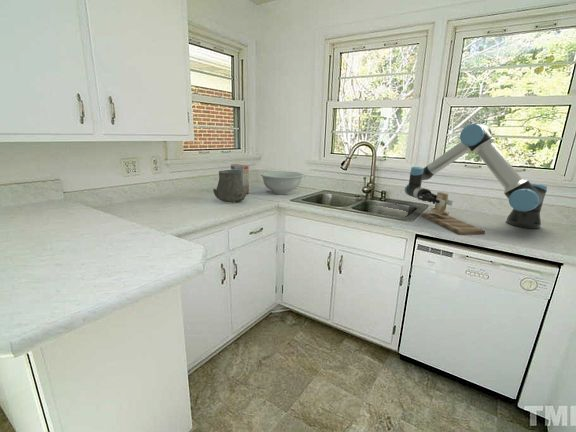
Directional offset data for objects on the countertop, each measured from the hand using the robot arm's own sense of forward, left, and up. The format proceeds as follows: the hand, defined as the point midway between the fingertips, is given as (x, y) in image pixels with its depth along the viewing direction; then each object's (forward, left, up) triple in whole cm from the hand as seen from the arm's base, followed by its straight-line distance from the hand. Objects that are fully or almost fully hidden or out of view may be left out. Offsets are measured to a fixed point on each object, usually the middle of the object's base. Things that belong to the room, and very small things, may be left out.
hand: (447, 203), depth 160 cm
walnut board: (-3, +4, -11) cm, 12 cm away
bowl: (+113, -8, -11) cm, 114 cm away
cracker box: (+137, +13, -11) cm, 138 cm away
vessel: (+124, +37, -11) cm, 130 cm away
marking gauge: (+3, -4, -7) cm, 9 cm away
